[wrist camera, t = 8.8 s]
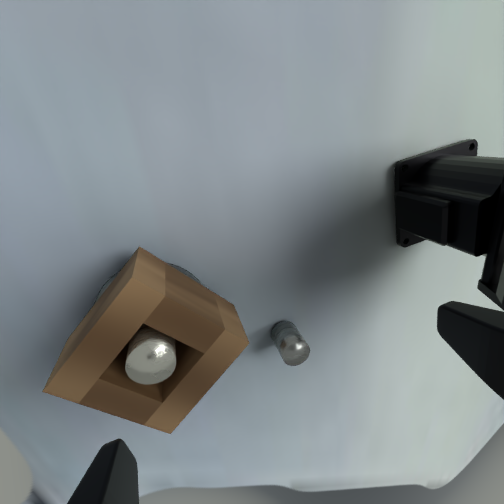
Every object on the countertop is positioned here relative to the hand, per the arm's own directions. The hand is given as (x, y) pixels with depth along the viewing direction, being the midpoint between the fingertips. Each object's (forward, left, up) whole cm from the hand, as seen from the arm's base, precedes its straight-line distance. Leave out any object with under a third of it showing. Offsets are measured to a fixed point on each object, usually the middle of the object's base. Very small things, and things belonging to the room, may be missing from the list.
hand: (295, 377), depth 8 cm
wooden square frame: (+5, +3, -11) cm, 13 cm away
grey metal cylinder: (-2, +9, -12) cm, 15 cm away
